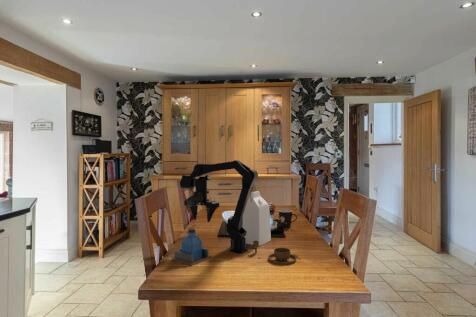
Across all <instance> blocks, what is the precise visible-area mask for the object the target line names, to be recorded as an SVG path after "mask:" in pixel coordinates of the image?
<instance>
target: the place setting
mask: <svg viewBox="0 0 476 317" xmlns="http://www.w3.org/2000/svg"><path fill="white" fill-rule="evenodd" d="M258 245H259V241H253V248H254V254H258V250H257V249H258V247H259V246H258ZM273 258H275V259H277V260H273ZM257 259H261V257H259V256H258V257H257ZM267 259H268V261H269V262H270V263H273V264H276V265H284V266H287V265H292V264H294V263H295V262H297V259H298V260H301V258H299V256H298V255H297V254H291V249H290V248H287V247H276V248H274V249H273V253H271V254H269V255H268V257H267ZM289 259H293V260H291V261H288V260H289Z"/></svg>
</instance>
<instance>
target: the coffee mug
mask: <svg viewBox="0 0 476 317" xmlns="http://www.w3.org/2000/svg"><path fill="white" fill-rule="evenodd" d="M293 216H295V219H294V220H292V218H293ZM278 219H279V227H280V226H282V227H283V228H282V227H281V228H282V229H290V228H291V227H292V223H294V222H296V221H297V219H298V216H297V215H296V214H295V213H293V210H291V209H279V210H278Z"/></svg>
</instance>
